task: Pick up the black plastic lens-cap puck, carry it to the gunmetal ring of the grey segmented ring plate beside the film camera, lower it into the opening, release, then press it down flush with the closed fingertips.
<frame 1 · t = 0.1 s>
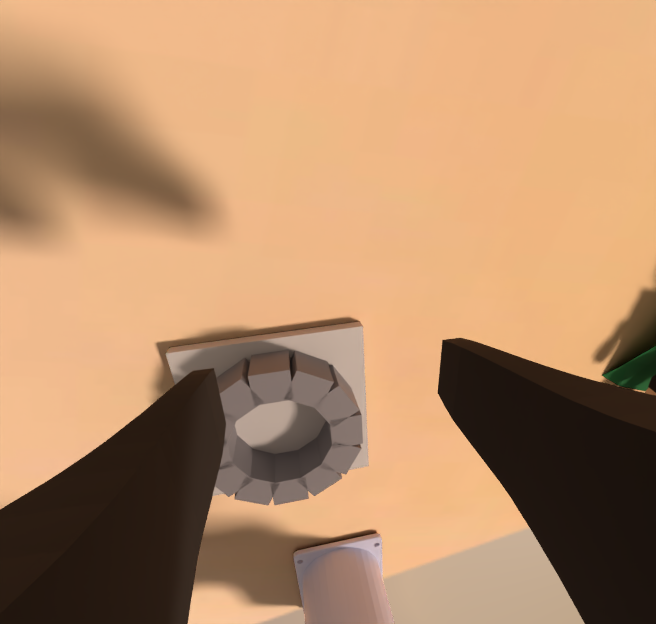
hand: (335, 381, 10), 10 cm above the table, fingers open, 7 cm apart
segmented ring plate: (280, 409, 22), on the table
figurine: (655, 344, 26), on the table
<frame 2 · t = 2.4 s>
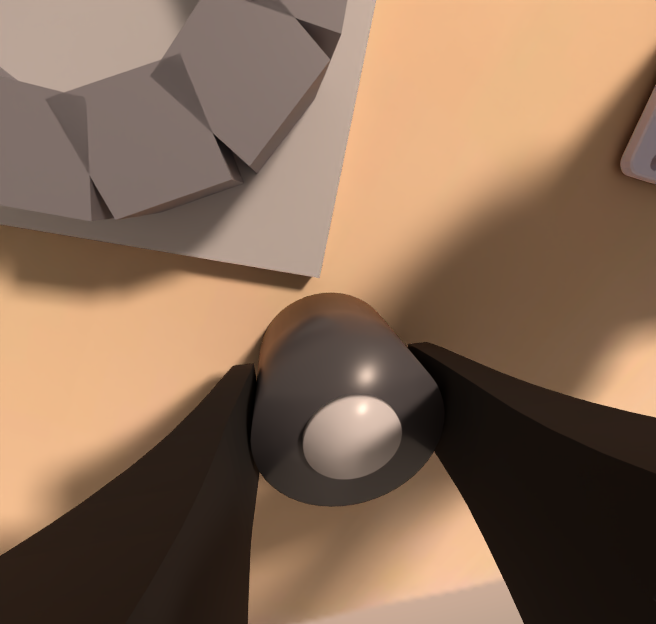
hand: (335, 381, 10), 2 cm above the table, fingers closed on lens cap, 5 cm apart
lens cap: (327, 355, 11), on the table, touching gripper
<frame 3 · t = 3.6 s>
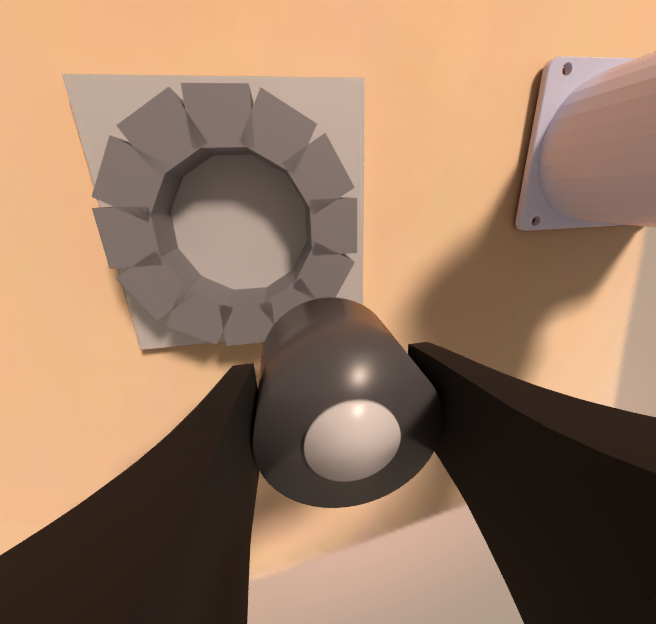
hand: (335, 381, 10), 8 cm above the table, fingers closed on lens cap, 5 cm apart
lens cap: (327, 359, 11), point 7 cm above the table, touching gripper
segmented ring plate: (243, 225, 16), on the table
when the fingers open (4 cm above the table, at t = 5.2 s): lens cap drops 1 cm, resting on segmented ring plate.
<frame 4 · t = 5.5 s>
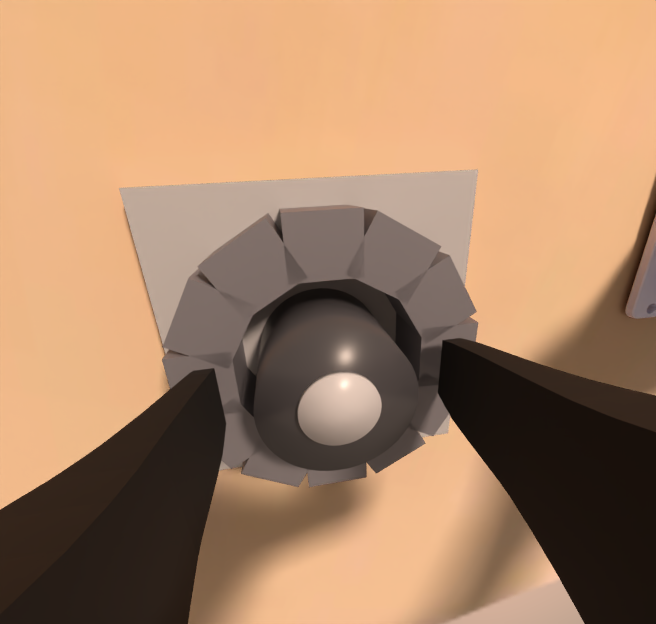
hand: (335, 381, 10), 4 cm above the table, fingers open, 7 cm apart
lens cap: (320, 344, 13), point 1 cm above the table, touching segmented ring plate
segmented ring plate: (319, 331, 13), on the table
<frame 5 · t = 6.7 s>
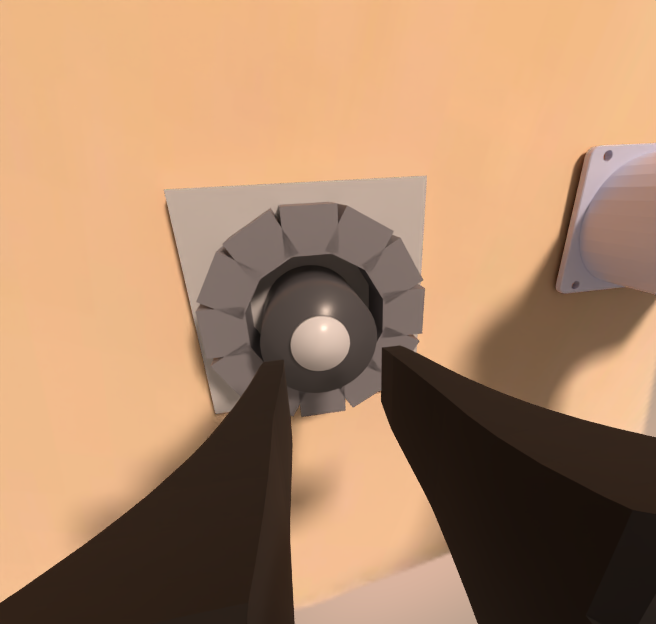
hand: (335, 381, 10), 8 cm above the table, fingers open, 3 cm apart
lens cap: (310, 310, 16), point 1 cm above the table, touching segmented ring plate
segmented ring plate: (310, 300, 17), on the table
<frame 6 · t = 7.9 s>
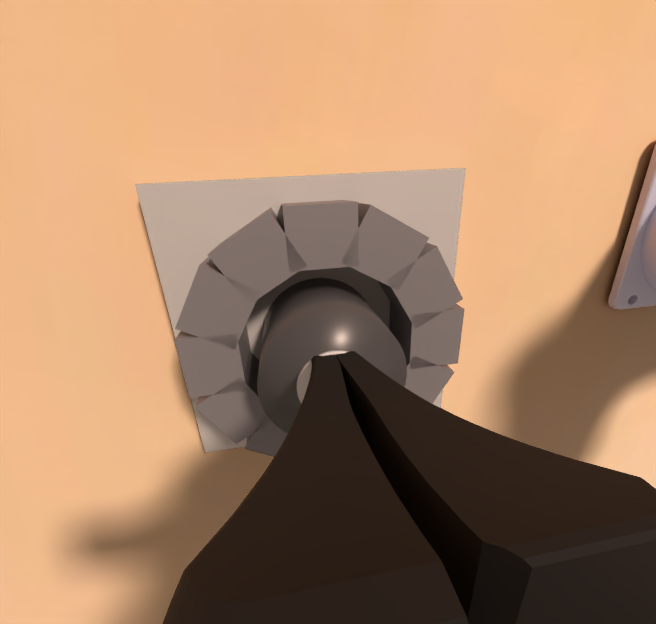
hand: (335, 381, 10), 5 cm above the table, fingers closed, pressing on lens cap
lens cap: (319, 331, 13), point 1 cm above the table, touching segmented ring plate, gripper
segmented ring plate: (318, 319, 14), on the table
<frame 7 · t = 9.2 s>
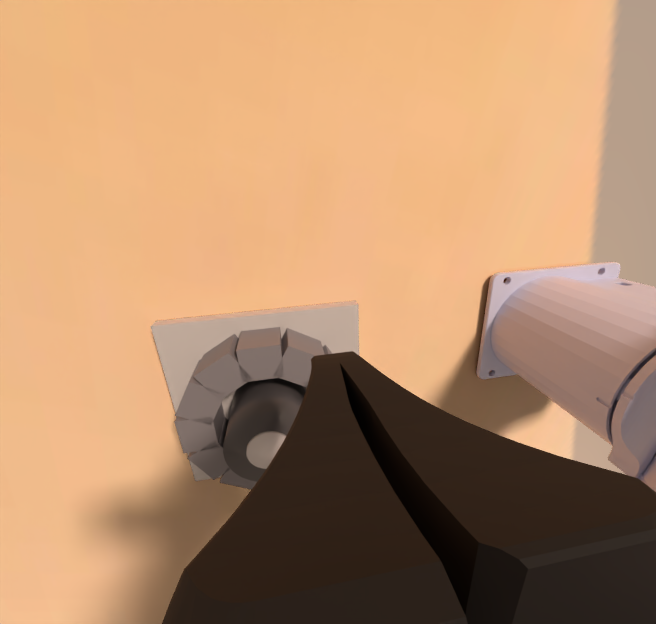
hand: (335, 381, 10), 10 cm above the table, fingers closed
lens cap: (270, 402, 20), point 1 cm above the table, touching segmented ring plate
segmented ring plate: (271, 392, 21), on the table
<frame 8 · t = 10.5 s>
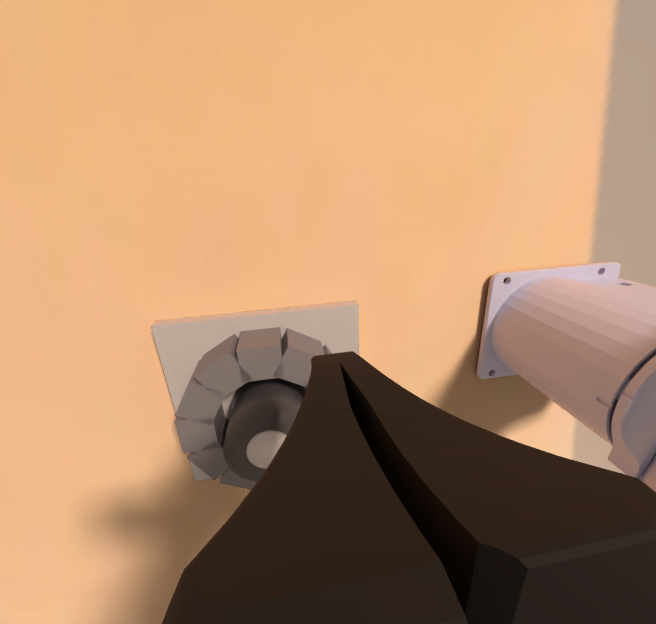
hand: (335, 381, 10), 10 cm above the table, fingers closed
lens cap: (270, 403, 20), point 1 cm above the table, touching segmented ring plate
segmented ring plate: (271, 392, 21), on the table
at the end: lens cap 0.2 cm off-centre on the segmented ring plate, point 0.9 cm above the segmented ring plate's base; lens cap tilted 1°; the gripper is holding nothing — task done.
